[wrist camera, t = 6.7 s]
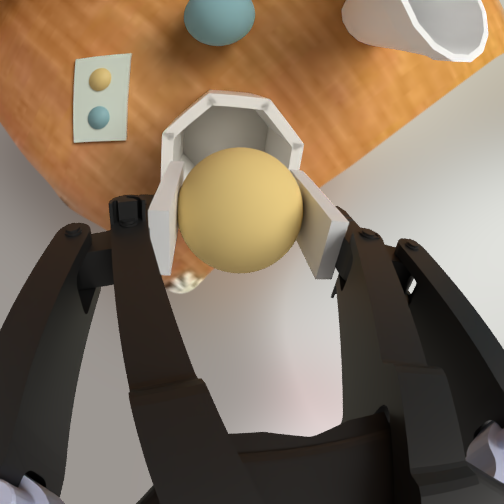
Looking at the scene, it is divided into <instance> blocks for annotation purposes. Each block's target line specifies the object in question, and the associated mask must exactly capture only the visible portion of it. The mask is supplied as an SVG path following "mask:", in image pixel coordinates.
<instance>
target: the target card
mask: <svg viewBox="0 0 504 504" xmlns="http://www.w3.org/2000/svg"><path fill="white" fill-rule="evenodd" d="M131 57H132V54H131V53H130V54H117V55H106V56H97V57H90V58H82V59H76V62H75V76H74V100H73V132H74V143H76V142H93V141H120V140H127V114H128V93H129V79H130V67H131Z"/></svg>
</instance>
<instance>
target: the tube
mask: <svg viewBox="0 0 504 504" xmlns="http://www.w3.org/2000/svg"><path fill="white" fill-rule="evenodd" d="M235 147H245V148H252V149H257V150H260V151H263V152H265V153H268V154H270V155H271V156H273V157H275V158H276V159H278V160H279V161H280V162H281V163H282V164H284V165H285V166H286V167H287V169H288V170H289V171H290V169H291V170H299V168H300V163H301V158H302V152H303V147H304V144H303V142H302V141H301V140H300V138H299V137H298V135H297V134H296V133H295V131H294V130H293V129H292V127H291V126H290V125H289V123H288V122H287V121H286V119H285V118H284V117H283V115H282V114H281V113H280V111H279V110H278V109H277V108H276V106H275V105H274V104H273V102H272V101H271V100H270V99H268V98H265V97H262V96H259V95H255V94H252V93H245V92H235V91H223V90H209V91H207V92H206V93H205V94H204V95H202V96H201V97H200V98H199V99H198V100H196V101H195V102H194V103H193V104H192V105H190V106H189V107H188V108H187V109H186V110H184V111H183V112H182V113H181V114H180V115H179V116H178V117H177V118H176V119H175V120H174V121H173V122H172V123H171V124H170V125H169V126H168V127H167V128H166V129H165V130H164V131H163V133H162V151H161V180H162V178H163V176H164V174H165V172H166V170H167V167H168V165H169V163H170V161H184V179H183V182H184V180H185V179H186V177H187V175H188V174H189V172H190V171H191V170H192V169H193V168H194V167H195V166H196V165H197V164H198V163H199V162H200V161H202V160H203V159H204V158H206V157H207V156H209V155H211V154H213V153H215V152H218V151H220V150H224V149H228V148H235Z"/></svg>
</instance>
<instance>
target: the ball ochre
mask: <svg viewBox="0 0 504 504" xmlns="http://www.w3.org/2000/svg"><path fill="white" fill-rule="evenodd" d="M177 220H178V225H179V229H180V232H181V234H182V237H183V239H184V241H185V242H186V244H187V246H188V247H189V248H190V250H191V251H192V252H193V253H194V254H195V255H196V256H197V257H198V258H199V259H201V260H202V261H203V262H204V263H206V264H208V265H209V266H211V267H213V268H216V269H218V270H221V271H226V272H231V273H250V272H255V271H259V270H261V269H264V268H266V267H268V266H270V265H272V264H274V263H275V262H277V261H278V260H279V259H280V258H282V257H283V256H284V255H285V254H286V253H287V252H288V251H289V249H290V248H291V247H292V245H293V244H294V242H295V240H296V238H297V236H298V234H299V232H300V229H301V225H302V220H303V200H302V195H301V192H300V188H299V186H298V184H297V182H296V180H295V178H294V177H293V175H292V174H291V172H290V171H289V170H288V169H287V167H286V166H285V165H284V164H282V163H281V162H280V161H279V160H278V159H276V158H275V157H273V156H271V155H270V154H268V153H265V152H263V151H260V150H257V149H252V148H245V147H235V148H228V149H224V150H220V151H218V152H215V153H213V154H211V155H209V156H207V157H206V158H204V159H203V160H202V161H200V162H199V163H198V164H197V165H196V166H195V167H194V168H193V169H192V170H191V171H190V172H189V174H188V175H187V177H186V179H185V180H184V182H183V184H182V187H181V189H180V192H179V196H178V206H177Z"/></svg>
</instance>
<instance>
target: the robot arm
mask: <svg viewBox="0 0 504 504" xmlns="http://www.w3.org/2000/svg"><path fill="white" fill-rule="evenodd" d="M290 172H291V174H292V175H293V177H294V178H295V180H296V182H297V184H298V186H299V188H300V192H301V195H302V200H303V220H302V225H301V229H300V232H299V234H298V236H297V238H296V240H297V242H298V244H299V246H300V248H301V250H302V253H303V255H304V257H305V259H306V261H307V263H308V265H309V267H310V269H311V271H312V273H313V275H314V277H315V279H332V276H333V273H334V270H335V267H336V269H337V271H338V272H339V275H338V278H337V281H336V284H335V287H334V290H333V292H332V296H331V298H333V297H334V295H335V294H337V300H338V312H339V323H340V324H339V325H340V341H341V358H342V385H343V418H342V423H341V424H340V425H338V426H336V427H334V428H332V429H330V430H327V431H325V432H323V433H321V434H318V435H316V436H312V437H303V436H293V435H284V434H275V433H268V432H256V433H239V434H228V432H227V430H226V428H225V426H224V424H223V422H222V419H221V417H220V415H219V413H218V411H217V408H216V406H215V404H214V402H213V399H212V397H211V395H210V393H209V390H208V388H207V386H206V384H205V382H204V381H203V380H202V379H198V378H197V376H196V374H195V372H194V370H193V367H192V364H191V362H190V359H189V357H188V354H187V351H186V348H185V346H184V343H183V340H182V337H181V335H180V332H179V329H178V326H177V323H176V320H175V317H174V314H173V312H172V308H171V305H170V302H169V299H168V296H167V293H166V290H165V287H164V283H163V280H162V277H161V275H171V269H172V262H173V256H174V250H175V245H176V239H177V233H178V228H179V225H178V220H177V206H178V196H179V192H180V189H181V187H182V184H183V179H184V161H170V163H169V165H168V167H167V170H166V172H165V174H164V176H163V178H162V180H161V182H160V184H159V187H158V189H157V191H156V193H155V195H139V196H138V195H123V196H118V197H116V198H113V199H112V200H111V201H110V202H109V213H110V223H111V230H109V231H106V232H101V233H95V234H91V231H90V227H89V226H88V225H87V224H84V223H71V224H68V225H66V226H65V227H63V228H62V229H60V230H59V231H58V232H57V233H56V235H55V236H54V238H53V239H52V241H51V242H50V244H49V245H48V247H47V248H46V250H45V251H44V253H43V254H42V256H41V257H40V259H39V261H38V262H37V264H36V265H35V267H34V269H33V270H32V272H31V274H30V276H29V277H28V279H27V281H26V283H25V284H24V286H23V287H22V289H21V291H20V293H19V295H18V297H17V298H16V300H15V302H14V304H13V306H12V308H11V310H10V312H9V314H8V316H7V318H6V320H5V322H4V324H3V326H2V328H1V330H0V504H64V502H63V501H62V500H61V499H60V498H59V497H60V494H61V490H62V485H63V481H64V475H65V467H66V459H67V448H68V439H69V430H70V422H71V416H72V409H73V403H74V397H75V392H76V386H77V381H78V376H79V371H80V366H81V362H82V358H83V353H84V349H85V345H86V341H87V337H88V333H89V329H90V325H91V322H92V318H93V314H94V310H95V307H96V304H97V301H98V297H99V294H100V291H101V286H108V285H113V284H114V290H115V300H116V309H117V318H118V325H119V332H120V339H121V345H122V352H123V358H124V363H125V368H126V374H127V379H128V384H129V389H130V392H129V400H130V404H131V409H132V413H133V417H134V421H135V425H136V429H137V433H138V437H139V440H140V443H141V447H142V451H143V454H144V458H145V461H146V464H147V467H148V470H149V473H150V476H151V479H152V482H153V486H152V487H151V488H150V489H149V491H148V492H147V493H146V494H145V495H144V496H143V497H142V498H141V499H140V500H139V501H138V502H137V503H136V504H504V349H503V348H502V346H501V345H500V343H499V342H498V340H497V339H496V338H495V336H494V335H493V333H492V332H491V330H490V329H489V328H488V326H487V325H486V323H485V322H484V321H483V319H482V318H481V317H480V315H479V314H478V313H477V311H476V310H475V309H474V307H473V306H472V305H471V304H470V302H469V301H468V300H467V298H466V297H465V296H464V295H463V293H462V292H461V291H460V290H459V289H458V287H457V286H456V285H455V284H454V282H453V281H452V280H451V279H450V277H448V275H447V274H446V273H445V272H444V270H443V269H442V268H441V267H440V266H439V265H438V264H437V262H436V261H435V260H434V259H433V258H432V257H431V256H430V255H429V253H427V251H426V250H425V249H424V248H423V247H422V246H421V245H420V244H418V243H417V242H416V241H414V240H411V239H400V240H399V241H398V243H397V246H396V247H392V246H388V245H385V244H384V242H383V240H382V238H381V236H380V235H379V234H378V233H375V232H374V231H372V230H370V229H366V228H360V227H359V226H358V225H357V224H356V222H355V221H353V219H352V218H351V217H350V216H349V215H348V214H347V212H346V211H344V210H343V209H341V208H340V207H338V206H334V204H333V203H332V202H331V201H330V200H329V199H328V198H327V196H325V194H324V193H323V192H322V191H321V190H320V189H319V188H318V187H317V185H316V184H315V183H314V182H313V181H312V180H311V179H310V178H309V177H308V176H307V175H306V174H305V173H304V172H303V171H299V170H291V169H290ZM413 279H415V280H416V283H417V284H416V286H415V288H414V290H413V292H412V294H410V292H409V291H408V289H409V287H410V285H411V283H412V281H413Z"/></svg>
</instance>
